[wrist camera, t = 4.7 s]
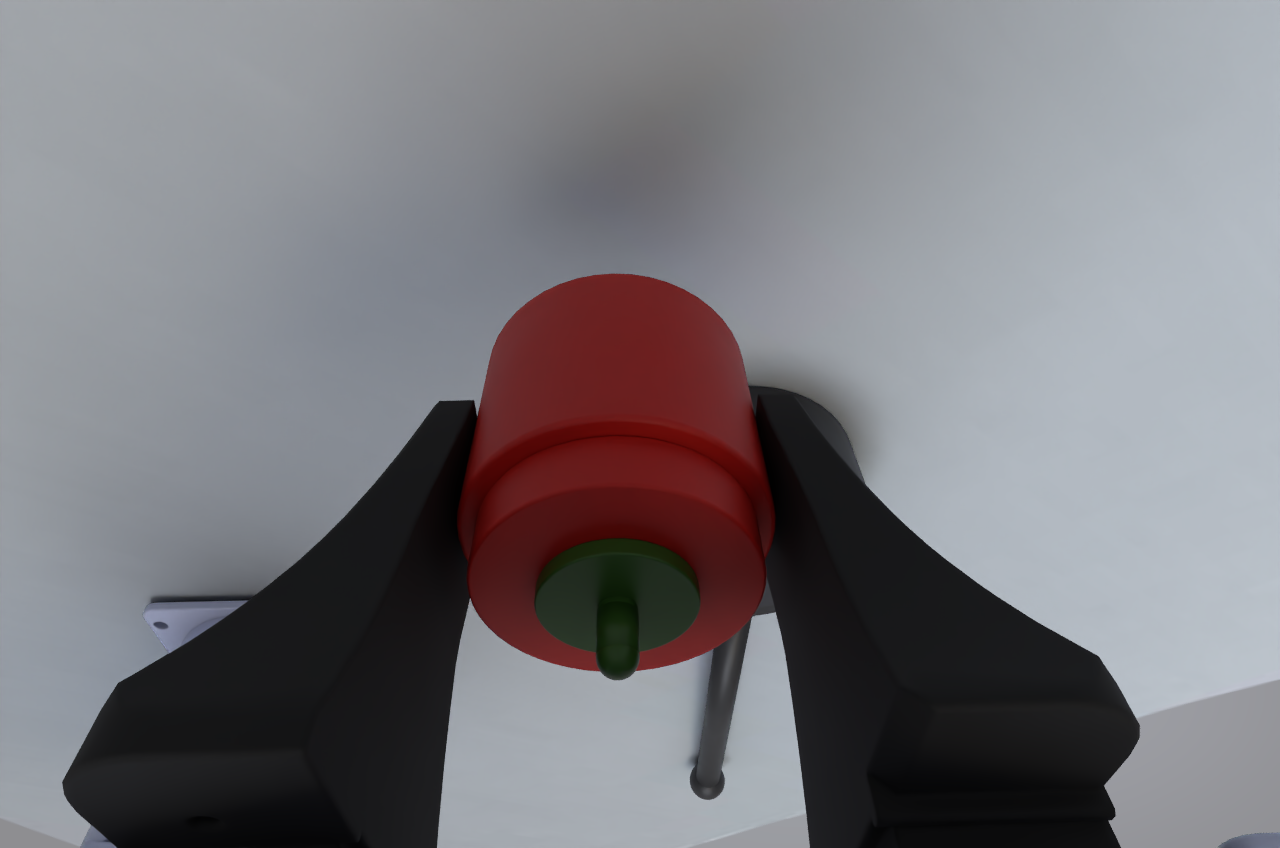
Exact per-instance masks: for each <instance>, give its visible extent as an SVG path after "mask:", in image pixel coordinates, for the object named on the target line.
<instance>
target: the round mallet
mask: <svg viewBox="0 0 1280 848" xmlns="http://www.w3.org/2000/svg"><path fill="white" fill-rule="evenodd" d="M749 391H750V396H751V400H752V405H753V409H754V414H755V415H756V407H757V398H758V394H793V395H794V396H795V397H796V398H797V399H798V400H799V402H800V403H801V405H802V406H803V407H804V409H805V410H806V412H807V413H808V414H809V416H810V417H811V418H812V420H813V421H814V422H815V424H816V425H817V426H818V428H819V429H820V430H821V432H822V433H823V434H824V436H825V437H826V438H827V439H828V441H829V442H830V443H831V445H832V446H833V447H834V448H835V450H836V451H837V452H838V453H839V454H840V456H841V457H842V458H843V459H844V460H845V461H846V463H847V464H848V465H849V466H850V467H851V469H852V470H853V471H854V472H855V473H856V474H857V476H858V477H859V478H860V479H861V480H862V481H863V482H864V479H863V476H862V474H861V471H860V468H859V465H858V462H857V460H856V457H855V454H854V451H853V448H852V446H851V443H850V441H849V438H848V436H847V433H846V432H845V430H844V429H843V427H842V426H841V424H840V423H839V422H838V421H837V420H836V419H835V418H834V416H833V415H832V414H830V413H829V412H828V411H827V410H825V409H824V408H823V407H821V406H820V405H818V404H816V403H815V402H813V401H811V400H809V399H807V398H805V397H802V396H800V395H797V394H795V393H791V392H787V391H783V390H779V389H772V388H765V387H749ZM864 483H865V482H864ZM774 612H776V611H775V607H774V603H773V599H772V595H771V591H770V587H769V584H768V580H767V576H766V586H765V590H764V594H763V597H762V600H761V602H760V604H759V606H758V608H757V610H756V612H755V613H754V614H753V616H756V615H763V614H769V613H774ZM751 618H752V617H751ZM750 623H751V619H750V620H749V621H748V622H747V623H746V624H745V625H744V626H743V627H742V629H741V630H740V631H738V632H737V633H736V634H735V635H733V636H732V637H731V638H730V639H728V640H727V641H725V642H724V643H722V644H721V645H719V646H717V647H716V648H714V651H713V658H712V665H711V672H710V679H709V687H708V694H707V701H706V708H705V715H704V723H703V730H702V737H701V744H700V751H699V758H698V764H697V765H696V766H695V767H694V768H693V770H692V772H691V775H690V785H691V788H692V790H693V792H694V793H695V794H696V795H697V796H698V797H700V798H702V799H706V800H710V799H714V798H716V797H717V796H719V795H720V793H721V792H722V790H723V788H724V784H725V779H724V774H723V772H722V770H721V769H722V764H723V759H724V754H725V749H726V744H727V739H728V734H729V729H730V724H731V719H732V714H733V709H734V704H735V699H736V694H737V689H738V684H739V679H740V674H741V669H742V664H743V659H744V653H745V648H746V643H747V638H748V633H749V628H750Z"/></svg>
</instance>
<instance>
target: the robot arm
mask: <svg viewBox="0 0 1280 848" xmlns="http://www.w3.org/2000/svg"><path fill="white" fill-rule="evenodd" d="M755 418H756V423H757V427H758V432H759V437H760V441H761V446H762V450H763V455H764V459H765V464H766V468H767V473H768V478H769V482H770V487H771V491H772V496H773V500H774V506H775V514H776V524H775V533H774V537H773V541H772V545H771V548H770V550H769V552H768V554H767V557H766V559H765V564H766V570H767V580H768V584H769V587H770V591H771V595H772V599H773V603H774V607H775V611H776V615H777V619H778V623H779V627H780V631H781V635H782V640H783V645H784V650H785V655H786V661H787V668H788V675H789V682H790V689H791V696H792V702H793V710H794V717H795V725H796V732H797V740H798V747H799V755H800V763H801V772H802V780H803V788H804V797H805V805H806V814H807V823H808V832H809V841H810V848H1121V847H1120V845H1119V843H1118V840H1117V838H1116V836H1115V834H1114V832H1113V830H1112V828H1111V826H1110V824H1109V821H1108V820H1112V819H1113V818H1114V817H1115V808H1114V806H1113V804H1112V802H1111V800H1110V798H1109V796H1108V793H1107V791H1106V790H1105V787H1104V785H1105V784H1106V782H1107V781H1108V780H1109V779H1110V778H1111V777H1112V775H1113V774H1114V773H1115V772H1116V771H1117V770H1118V768H1119V767H1120V766H1121V765H1122V764H1123V763H1124V761H1125V760H1126V759H1127V758H1128V757H1129V755H1130V754H1131V752H1132V750H1133V749H1134V747H1135V745H1136V744H1137V742H1138V740H1139V736H1140V725H1139V723H1138V721H1137V720H1136V718H1135V716H1134V714H1133V712H1132V710H1131V709H1130V707H1129V705H1128V703H1127V701H1126V699H1125V697H1124V696H1123V694H1122V692H1121V690H1120V689H1119V687H1118V685H1117V683H1116V682H1115V680H1114V679H1113V677H1112V676H1111V674H1110V673H1109V671H1108V670H1107V668H1106V667H1105V665H1104V664H1103V662H1102V661H1101V659H1100V658H1099V656H1097V655H1095V654H1093V653H1092V652H1090V651H1088V650H1086V649H1084V648H1083V647H1081V646H1079V645H1077V644H1075V643H1074V642H1072V641H1070V640H1068V639H1066V638H1065V637H1063V636H1061V635H1059V634H1057V633H1056V632H1054V631H1052V630H1050V629H1048V628H1047V627H1045V626H1043V625H1041V624H1040V623H1038V622H1036V621H1035V620H1033V619H1031V618H1030V617H1028V616H1026V615H1025V614H1023V613H1022V612H1020V611H1019V610H1017V609H1016V608H1014V607H1012V606H1011V605H1009V604H1008V603H1006V602H1005V601H1003V600H1001V599H1000V598H998V597H997V596H995V595H994V594H992V593H991V592H990V591H988V590H987V589H985V588H984V587H982V586H981V585H979V584H978V583H977V582H975V581H974V580H973V579H971V578H970V577H969V576H967V575H966V574H965V573H963V572H962V571H961V570H959V569H958V568H957V567H955V566H954V565H953V564H951V563H950V562H948V561H947V560H946V559H945V558H943V557H942V556H941V555H940V554H938V553H937V552H936V551H935V550H933V549H932V548H931V547H930V546H928V545H927V544H926V543H925V542H924V541H923V540H922V539H920V538H919V537H918V536H917V535H916V534H915V533H914V532H913V531H911V530H910V529H909V528H908V527H907V526H906V525H905V524H904V523H903V522H902V521H901V520H900V519H898V518H897V517H896V516H895V515H894V514H893V513H892V512H891V511H890V510H889V509H888V508H887V507H886V506H885V505H884V504H883V502H882V501H881V500H880V499H879V498H878V497H877V496H876V495H875V494H874V493H873V492H872V491H871V490H870V489H869V488H868V487H867V486H866V484H865V483H864V482H863V481H862V480H861V479H860V478H859V477H858V476H857V474H856V473H855V472H854V471H853V470H852V469H851V467H850V466H849V465H848V464H847V463H846V461H845V460H844V459H843V458H842V457H841V456H840V454H839V453H838V452H837V451H836V450H835V448H834V447H833V446H832V445H831V443H830V442H829V441H828V439H827V438H826V437H825V436H824V434H823V433H822V432H821V430H820V429H819V428H818V426H817V425H816V424H815V422H814V421H813V420H812V418H811V417H810V416H809V414H808V413H807V412H806V410H805V409H804V407H803V406H802V405H801V403H800V402H799V400H798V399H797V398H796V397H795V396H794V395H793V394H758V398H757V407H756V415H755ZM476 421H477V413H476V408H475V403H474V400H465V401H439V402H438V403H437V404H436V405H435V406H434V407H433V409H432V410H431V412H430V413H429V414H428V416H427V417H426V418H425V420H424V421H423V423H422V424H421V425H420V427H419V428H418V429H417V431H416V432H415V433H414V435H413V436H412V437H411V439H410V440H409V441H408V443H407V444H406V445H405V446H404V448H403V449H402V450H401V452H400V453H399V454H398V455H397V457H396V458H395V459H394V460H393V462H392V463H391V464H390V465H389V467H388V468H387V469H386V470H385V471H384V473H383V474H382V475H381V476H380V478H379V479H378V480H377V481H376V482H375V484H374V485H373V486H372V487H371V488H370V489H369V490H368V491H367V493H366V494H365V495H364V496H363V497H362V498H361V499H360V500H359V501H358V502H357V504H356V505H355V506H354V507H353V508H352V509H351V510H350V511H349V512H348V513H347V515H346V516H345V517H344V518H343V519H342V520H341V521H340V522H339V523H338V524H337V525H336V526H335V527H334V528H333V529H332V530H331V531H330V532H329V533H328V534H327V535H326V536H325V537H324V538H323V539H322V540H321V541H320V542H318V543H317V544H316V545H315V546H314V547H313V548H312V549H311V550H310V551H309V552H308V553H307V554H305V555H304V556H303V557H302V558H301V559H300V560H299V561H298V562H296V563H295V564H294V565H293V566H292V567H290V568H289V569H288V570H287V571H285V572H284V573H283V574H282V575H280V576H279V577H278V578H277V579H275V580H274V581H273V582H272V583H270V584H269V585H268V586H267V587H265V588H264V589H263V590H262V591H260V592H259V593H258V594H257V595H255V596H254V597H253V598H251V599H250V600H245V601H203V602H160V603H150V604H148V605H147V606H146V608H145V610H144V612H143V614H142V615H143V617H144V619H145V620H146V622H147V623H148V624H149V626H150V627H151V629H152V630H153V631H154V633H155V634H156V636H157V637H158V638H159V640H160V641H161V643H162V644H163V646H164V647H165V648H166V650H167V651H168V653H169V654H167V655H165V656H164V657H162V658H160V659H159V660H157V661H155V662H154V663H152V664H150V665H149V666H147V667H145V668H144V669H142V670H140V671H138V672H137V673H135V674H133V675H132V676H130V677H128V678H126V679H124V680H123V681H121V682H119V683H118V684H117V686H116V687H115V689H114V690H113V692H112V693H111V695H110V697H109V698H108V700H107V701H106V703H105V704H104V706H103V708H102V709H101V711H100V713H99V715H98V716H97V718H96V720H95V722H94V724H93V726H92V728H91V730H90V732H89V733H88V735H87V737H86V739H85V741H84V743H83V744H82V746H81V748H80V750H79V752H78V754H77V756H76V757H75V759H74V761H73V763H72V765H71V767H70V769H69V770H68V772H67V774H66V776H65V778H64V780H63V782H62V784H63V790H64V795H65V797H66V799H67V801H68V802H69V803H70V804H71V806H72V807H73V808H74V809H75V810H76V812H77V813H78V814H80V815H81V816H82V817H83V818H84V819H85V820H86V821H87V822H89V823H90V824H91V826H90V828H89V830H88V832H87V834H86V836H85V838H84V840H83V842H82V844H81V846H80V848H437V839H438V826H439V815H440V804H441V793H442V782H443V771H444V761H445V752H446V743H447V734H448V724H449V715H450V707H451V699H452V691H453V682H454V674H455V666H456V660H457V654H458V649H459V644H460V639H461V634H462V630H463V626H464V621H465V617H466V613H467V608H468V604H469V600H470V596H469V593H468V587H467V580H466V578H467V566H468V561H467V559H466V557H465V555H464V553H463V550H462V547H461V544H460V541H459V537H458V530H457V510H458V505H459V501H460V496H461V491H462V487H463V482H464V477H465V473H466V468H467V463H468V459H469V454H470V449H471V445H472V440H473V435H474V431H475V426H476ZM1217 848H1280V833H1255V834H1247V835H1242V836H1239V837H1235V838H1232V839H1229V840H1228V841H1226V842H1224V843H1222V844H1221V845H1219V846H1218V847H1217Z"/></svg>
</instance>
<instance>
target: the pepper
mask: <svg viewBox="0 0 1280 848" xmlns="http://www.w3.org/2000/svg"><path fill="white" fill-rule="evenodd" d="M775 524H776V514H775V506H774V500H773V496H772V491H771V487H770V482H769V478H768V473H767V468H766V464H765V459H764V455H763V450H762V446H761V441H760V437H759V432H758V427H757V423H756V418H755V414H754V409H753V405H752V400H751V396H750V391H749V386H748V382H747V377H746V373H745V368H744V364H743V359H742V356H741V352H740V349H739V346H738V344H737V342H736V340H735V338H734V336H733V334H732V332H731V330H730V329H729V328H728V326H727V325H726V323H725V322H724V321H723V319H722V318H721V317H720V316H719V315H718V314H717V313H716V312H715V311H714V310H713V309H712V308H711V307H710V306H708V305H707V304H706V303H704V302H703V301H702V300H700V299H699V298H698V297H696V296H694V295H693V294H691V293H689V292H687V291H686V290H684V289H682V288H680V287H677V286H675V285H673V284H670V283H668V282H665V281H661V280H658V279H654V278H651V277H645V276H639V275H633V274H601V275H592V276H587V277H582V278H577V279H574V280H571V281H568V282H565V283H562V284H559V285H557V286H555V287H553V288H551V289H548V290H546V291H544V292H543V293H541V294H539V295H538V296H536V297H535V298H533V299H532V300H530V301H529V302H527V303H526V304H525V305H524V306H523V307H522V308H520V309H519V310H518V311H517V312H516V313H515V314H514V315H513V316H512V318H511V319H510V320H509V321H508V322H507V323H506V325H505V326H504V328H503V329H502V331H501V332H500V334H499V336H498V338H497V340H496V342H495V345H494V347H493V349H492V353H491V357H490V361H489V365H488V370H487V375H486V379H485V384H484V389H483V393H482V398H481V403H480V407H479V412H478V417H477V421H476V426H475V431H474V435H473V440H472V445H471V449H470V454H469V459H468V463H467V468H466V473H465V477H464V482H463V487H462V491H461V496H460V501H459V505H458V510H457V530H458V537H459V541H460V544H461V547H462V550H463V553H464V555H465V557H466V559H467V561H468V566H467V578H466V580H467V587H468V593H469V596H470V598H471V601H472V604H473V606H474V608H475V610H476V612H477V613H478V615H479V617H480V618H481V619H482V620H483V622H484V623H485V624H486V625H487V626H488V628H490V629H491V630H492V631H493V632H494V633H495V634H496V635H497V636H498V637H500V638H501V639H503V640H504V641H505V642H507V643H508V644H510V645H511V646H513V647H515V648H517V649H518V650H520V651H522V652H524V653H526V654H529V655H531V656H533V657H536V658H538V659H541V660H544V661H547V662H550V663H553V664H557V665H561V666H565V667H570V668H576V669H582V670H590V671H600V672H601V673H602V674H603V675H604V676H606V677H607V678H609V679H612V680H623V679H626V678H628V677H630V676H631V675H632V674H633V673H634V672H635V671H640V670H647V669H654V668H659V667H664V666H669V665H673V664H676V663H680V662H683V661H686V660H689V659H692V658H694V657H697V656H699V655H702V654H704V653H706V652H708V651H710V650H712V649H714V648H716V647H717V646H719V645H721V644H722V643H724V642H725V641H727V640H728V639H730V638H731V637H732V636H733V635H735V634H736V633H737V632H738V631H740V630H741V629H742V627H743V626H744V625H745V624H746V623H747V622H748V621H749V620H750V619H751V617H752V616H753V614H754V613H755V612H756V610H757V608H758V606H759V604H760V602H761V600H762V597H763V594H764V590H765V586H766V576H767V570H766V564H765V559H766V557H767V554H768V552H769V550H770V548H771V545H772V541H773V537H774V533H775Z"/></svg>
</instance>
